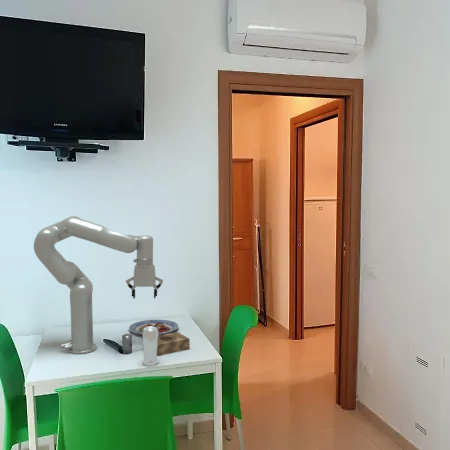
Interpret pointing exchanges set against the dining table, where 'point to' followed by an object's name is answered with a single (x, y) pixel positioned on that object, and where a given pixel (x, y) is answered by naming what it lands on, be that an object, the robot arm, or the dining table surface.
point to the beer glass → (150, 345)
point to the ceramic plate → (162, 326)
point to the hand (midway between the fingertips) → (144, 297)
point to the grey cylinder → (127, 343)
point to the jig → (172, 343)
